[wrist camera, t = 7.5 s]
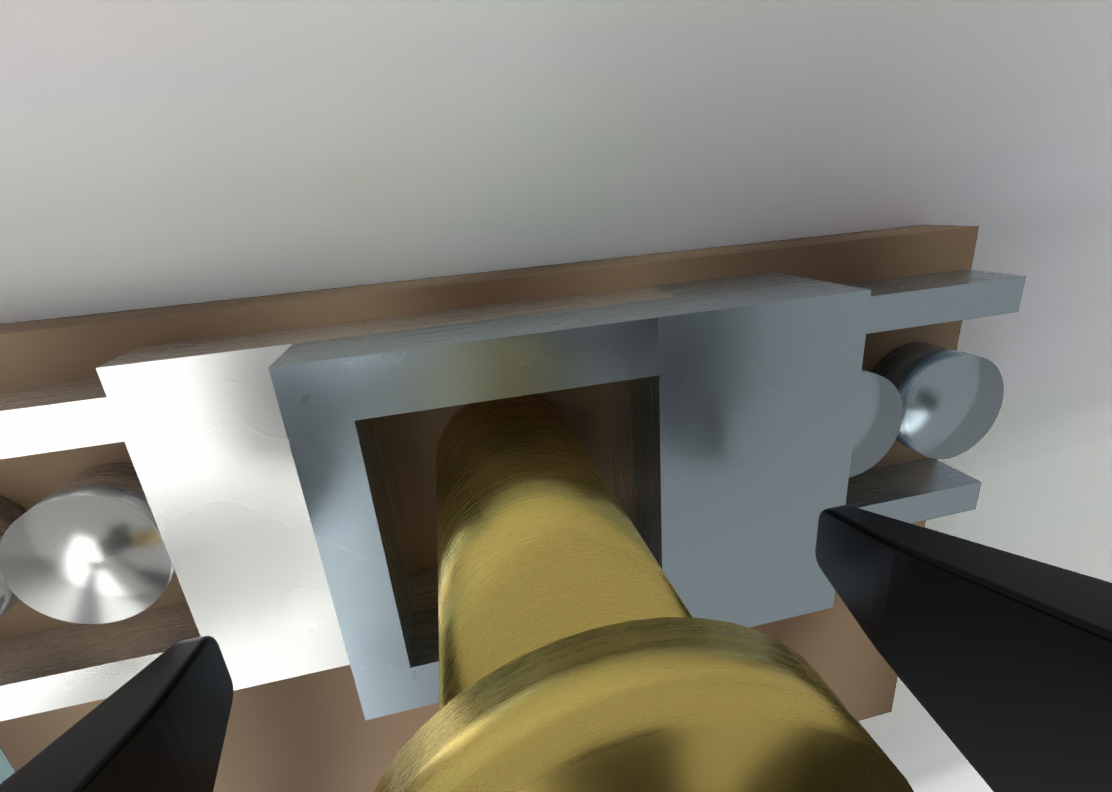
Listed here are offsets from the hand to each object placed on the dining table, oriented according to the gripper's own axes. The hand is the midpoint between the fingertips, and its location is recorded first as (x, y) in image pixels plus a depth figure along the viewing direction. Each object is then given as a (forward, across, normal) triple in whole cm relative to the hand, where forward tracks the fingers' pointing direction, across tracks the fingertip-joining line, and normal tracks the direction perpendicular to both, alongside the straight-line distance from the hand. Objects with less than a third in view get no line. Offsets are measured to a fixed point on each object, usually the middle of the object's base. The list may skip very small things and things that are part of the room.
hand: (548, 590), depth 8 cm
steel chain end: (+5, +4, 0) cm, 6 cm away
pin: (+5, 0, 0) cm, 5 cm away
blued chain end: (+5, -4, 0) cm, 6 cm away
